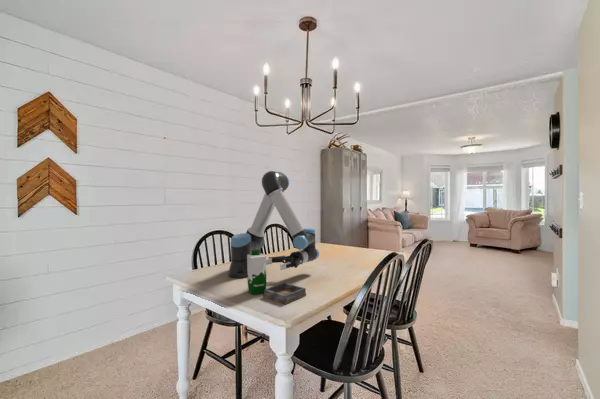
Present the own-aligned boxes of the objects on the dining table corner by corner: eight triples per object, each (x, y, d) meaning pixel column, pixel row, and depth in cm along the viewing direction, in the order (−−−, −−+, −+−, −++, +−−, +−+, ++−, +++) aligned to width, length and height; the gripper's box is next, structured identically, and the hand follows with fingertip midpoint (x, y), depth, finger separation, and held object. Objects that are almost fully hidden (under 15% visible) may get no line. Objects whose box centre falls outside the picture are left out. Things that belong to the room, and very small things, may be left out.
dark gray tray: (263, 297, 137) (263, 289, 137) (284, 289, 147) (284, 282, 147) (285, 304, 128) (285, 296, 128) (306, 295, 138) (306, 288, 138)
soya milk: (263, 287, 150) (262, 248, 150) (268, 293, 142) (268, 252, 141) (246, 290, 147) (245, 250, 146) (250, 296, 138) (250, 253, 138)
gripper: (316, 267, 159) (289, 276, 143) (282, 261, 176) (255, 268, 160) (315, 254, 159) (289, 261, 143) (282, 248, 175) (255, 254, 159)
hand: (271, 265), depth 151 cm, fingers open, 13 cm apart
